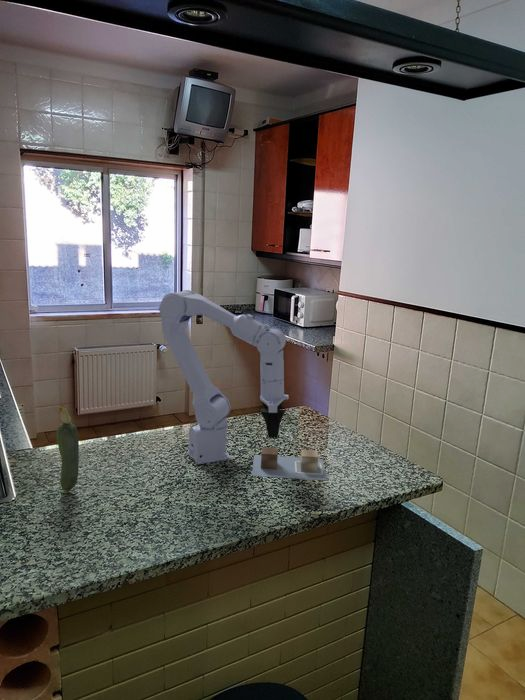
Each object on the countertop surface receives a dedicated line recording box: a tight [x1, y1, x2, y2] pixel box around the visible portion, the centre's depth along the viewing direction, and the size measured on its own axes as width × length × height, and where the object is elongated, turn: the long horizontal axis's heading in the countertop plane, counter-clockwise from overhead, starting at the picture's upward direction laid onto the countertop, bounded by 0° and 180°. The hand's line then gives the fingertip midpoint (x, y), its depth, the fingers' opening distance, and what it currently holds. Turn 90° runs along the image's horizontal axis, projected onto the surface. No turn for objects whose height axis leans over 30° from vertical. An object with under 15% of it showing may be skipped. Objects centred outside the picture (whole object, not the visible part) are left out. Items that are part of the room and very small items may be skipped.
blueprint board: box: [251, 454, 327, 481], centre depth 127 cm, size 18×12×1 cm, turn 88°
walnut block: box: [260, 446, 279, 470], centre depth 127 cm, size 4×4×4 cm
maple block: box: [300, 449, 319, 472], centre depth 126 cm, size 4×4×4 cm
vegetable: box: [56, 406, 80, 494], centre depth 108 cm, size 4×4×20 cm
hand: (272, 431), depth 126 cm, fingers open, 7 cm apart
